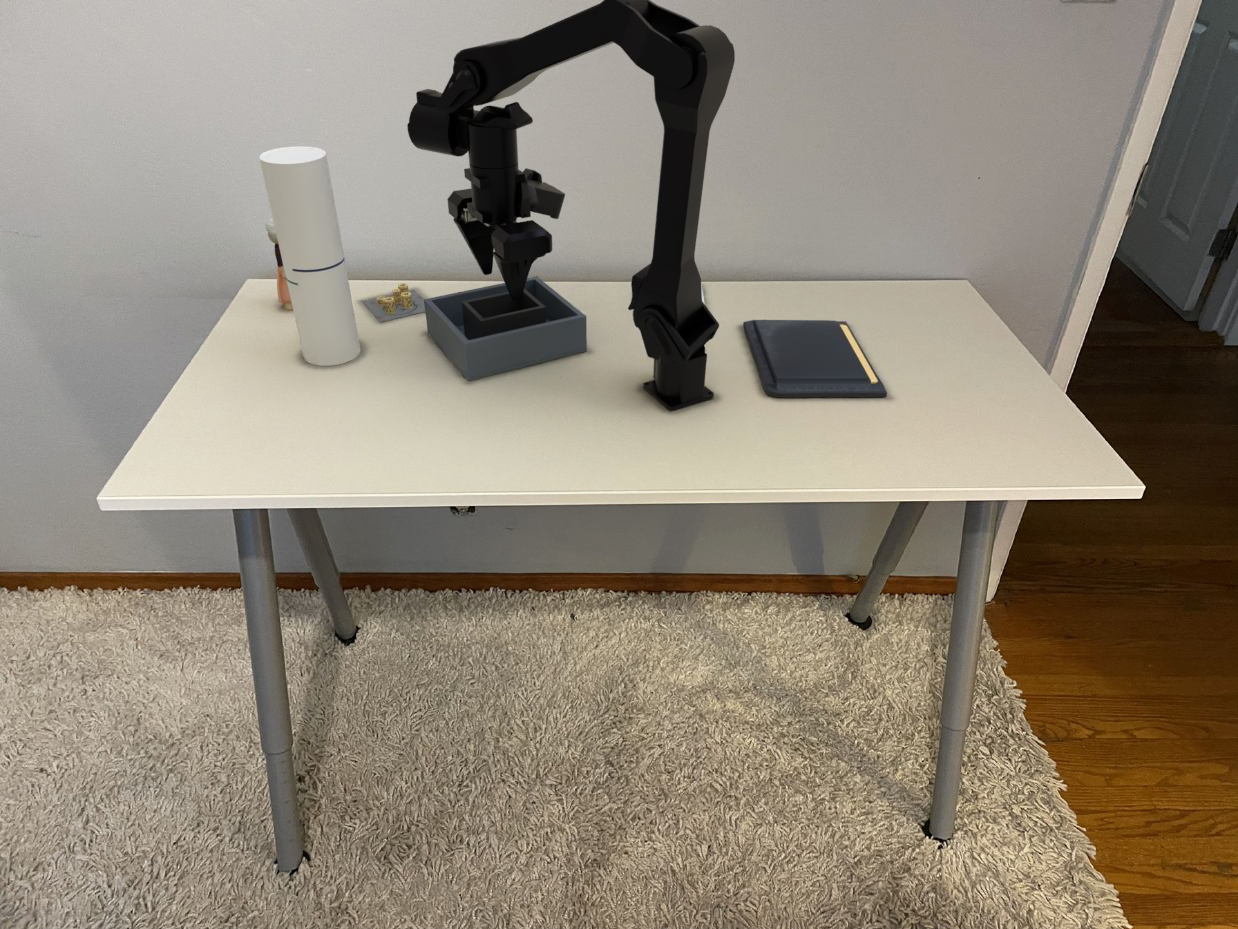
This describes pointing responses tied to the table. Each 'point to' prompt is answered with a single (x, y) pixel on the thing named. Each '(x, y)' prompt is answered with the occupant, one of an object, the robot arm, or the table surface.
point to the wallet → (811, 359)
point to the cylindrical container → (312, 252)
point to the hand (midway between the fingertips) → (501, 286)
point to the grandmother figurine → (279, 268)
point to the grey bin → (510, 347)
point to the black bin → (501, 314)
